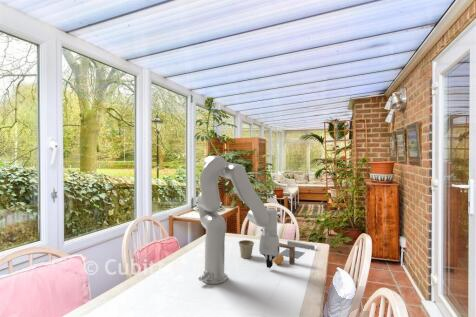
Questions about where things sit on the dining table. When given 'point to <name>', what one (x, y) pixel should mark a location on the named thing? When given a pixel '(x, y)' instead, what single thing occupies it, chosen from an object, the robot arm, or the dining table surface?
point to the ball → (279, 259)
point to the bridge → (291, 252)
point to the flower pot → (246, 248)
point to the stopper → (301, 245)
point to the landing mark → (286, 253)
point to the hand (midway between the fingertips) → (269, 266)
